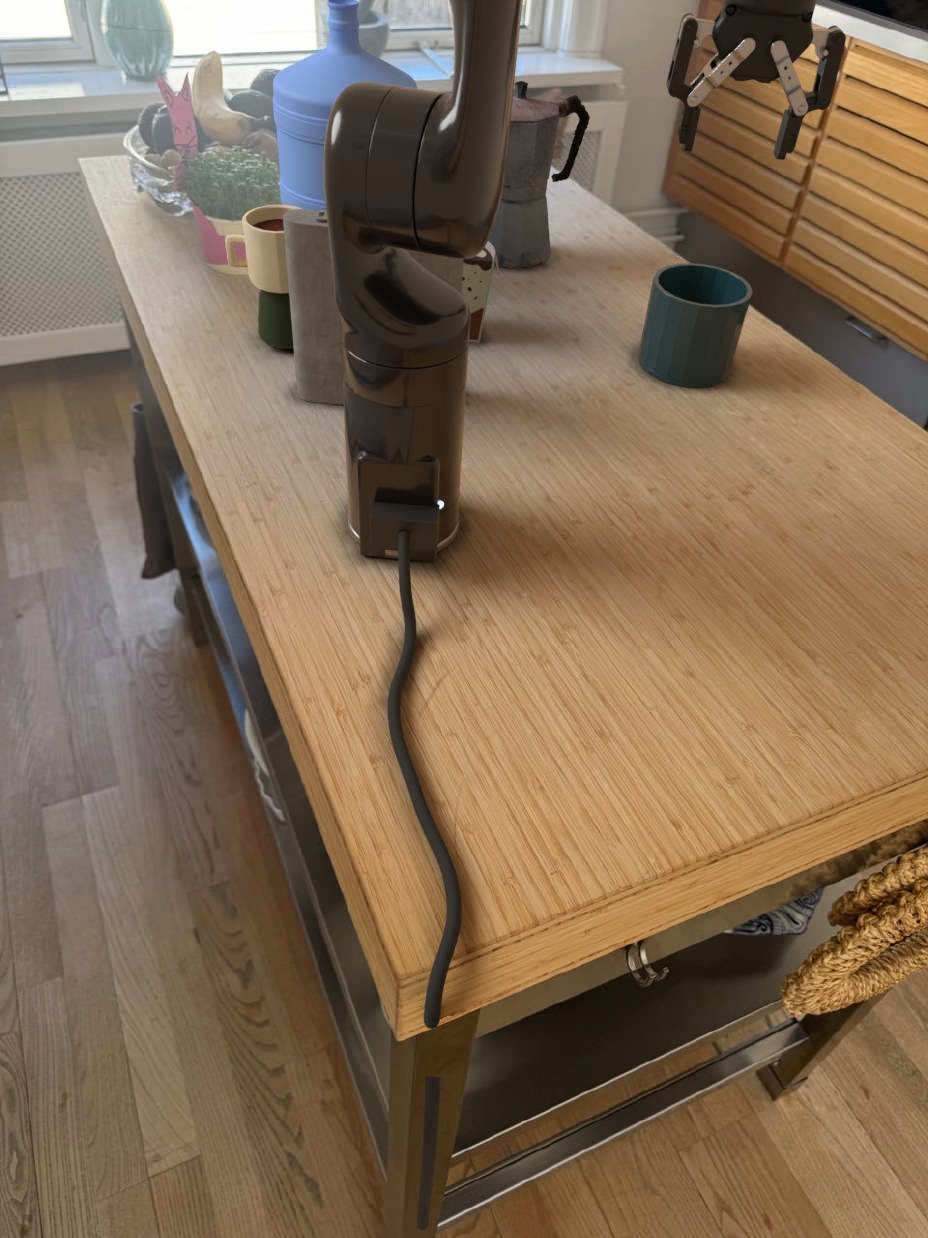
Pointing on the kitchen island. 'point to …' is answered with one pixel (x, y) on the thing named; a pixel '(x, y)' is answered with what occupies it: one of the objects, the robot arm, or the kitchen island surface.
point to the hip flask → (326, 303)
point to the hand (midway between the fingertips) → (732, 152)
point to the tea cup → (693, 324)
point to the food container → (478, 287)
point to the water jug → (321, 103)
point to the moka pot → (531, 177)
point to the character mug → (266, 270)
